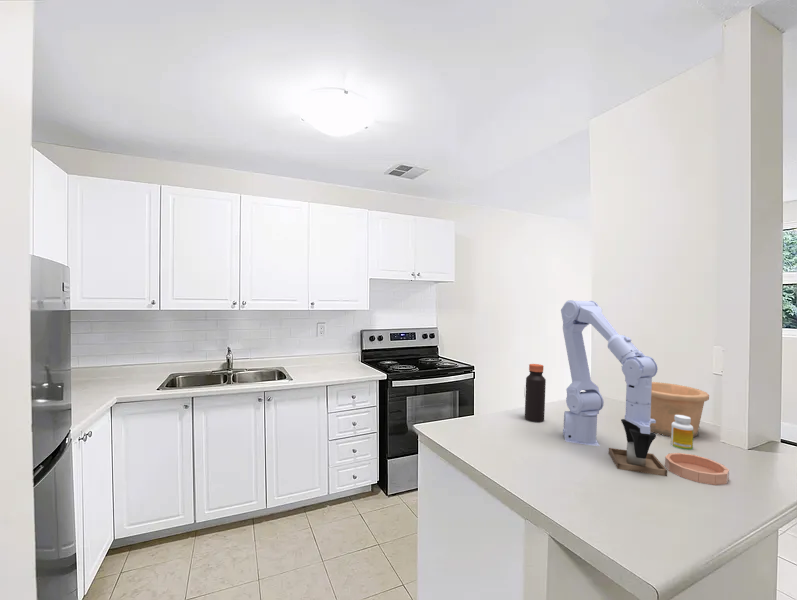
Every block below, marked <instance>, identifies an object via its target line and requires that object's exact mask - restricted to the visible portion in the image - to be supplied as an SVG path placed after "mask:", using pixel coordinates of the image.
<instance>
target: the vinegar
mask: <svg viewBox="0 0 797 600" xmlns="http://www.w3.org/2000/svg"><path fill="white" fill-rule="evenodd" d="M528 366H529V367H528V372H529V375H527V376H526V377H525V395H524V396H525V400H524V401H525V403H524V419H525V420H526V421H528V422H533V423H542V422H544V421H545V412H546V411H545V407H546V406H545V404H546V383H547V382H546V381H547V380H546V378H545V376H543V374H544V365H543V364H540V363H530V364H528Z"/></svg>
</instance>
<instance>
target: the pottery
mask: <svg viewBox="0 0 797 600" xmlns="http://www.w3.org/2000/svg"><path fill="white" fill-rule="evenodd" d="M709 400H710V395H709V393H708V392H706V391H705V390H702V389H699V388H695V387H690V386H687V385H680V384H675V383H668V382H660V381H659V382H658V381H652V391H651V419H654V420H655V421H656V423H651V425H650V432H651V431H652V432H651V433H654V432H655V434H657V433H659V434H658V435H661V434H663V435H662V436H666V435H667V436H666V437H671V425H672V422H675V419H674V417H675V415H684V416H688V417H690V418H691V423H690V424H691V425H692V426H693V438H695V437H697V436H698V433H699V429H700V423H701V418H702V415H703V409H704V406H705V402H707V401H709Z"/></svg>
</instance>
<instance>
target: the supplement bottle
mask: <svg viewBox="0 0 797 600" xmlns="http://www.w3.org/2000/svg"><path fill="white" fill-rule="evenodd" d="M674 419H675V422H672V425H671V436H670V446H672V447H674V448H676V449H680V450H684V451H692V450H693V449H694V447H693V444H694V437H693V426H692V425H691V424H690V423H691V418H690V417H688V416H684V415H675V417H674Z"/></svg>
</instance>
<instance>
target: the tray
mask: <svg viewBox="0 0 797 600" xmlns="http://www.w3.org/2000/svg"><path fill="white" fill-rule="evenodd" d="M608 454H609V456H610V458H611V460H612V461H613V463H614V465H615V467H616V468H617V470H622V471H623V470H624V471H629V472H637V473H640V474H641V473H643V474H650V475H656V476H662V477H668V469H667V468H665V467H666V466H665V465H663V464H662V462H661V461H660V460H659V459H658V458H657V456H656V455H655V454H654V453H650V452H648V453H647V456H646V466H645V467H644V466H638V465H631V464H628V463H627V462H626V458H627V449H620V448H613V447H608Z"/></svg>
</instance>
